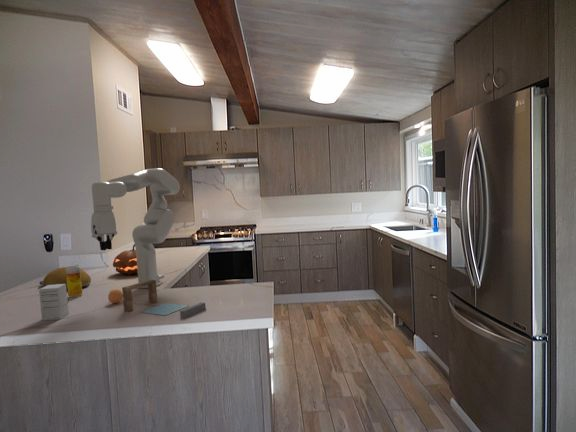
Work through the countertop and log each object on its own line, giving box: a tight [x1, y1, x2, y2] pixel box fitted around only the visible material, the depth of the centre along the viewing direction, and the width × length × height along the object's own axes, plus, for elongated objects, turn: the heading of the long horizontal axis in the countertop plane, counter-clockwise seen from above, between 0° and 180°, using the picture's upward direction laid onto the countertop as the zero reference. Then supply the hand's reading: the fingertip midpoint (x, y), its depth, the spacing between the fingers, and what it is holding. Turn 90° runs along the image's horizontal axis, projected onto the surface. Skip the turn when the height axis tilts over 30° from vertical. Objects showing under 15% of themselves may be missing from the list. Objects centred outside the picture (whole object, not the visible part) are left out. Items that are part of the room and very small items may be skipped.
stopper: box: [179, 302, 207, 319], centre depth 158 cm, size 12×2×2 cm, turn 151°
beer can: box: [65, 264, 83, 299], centre depth 197 cm, size 6×6×15 cm
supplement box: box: [38, 284, 69, 321], centre depth 163 cm, size 7×7×13 cm
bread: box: [43, 266, 92, 290], centre depth 225 cm, size 18×35×10 cm, turn 53°
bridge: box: [121, 280, 158, 313], centre depth 172 cm, size 3×15×10 cm, turn 151°
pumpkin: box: [112, 243, 138, 276], centre depth 250 cm, size 25×25×19 cm
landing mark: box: [141, 303, 190, 317], centre depth 166 cm, size 13×13×1 cm
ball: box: [107, 289, 123, 304], centre depth 180 cm, size 6×6×6 cm
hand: (106, 249), depth 187 cm, fingers closed
